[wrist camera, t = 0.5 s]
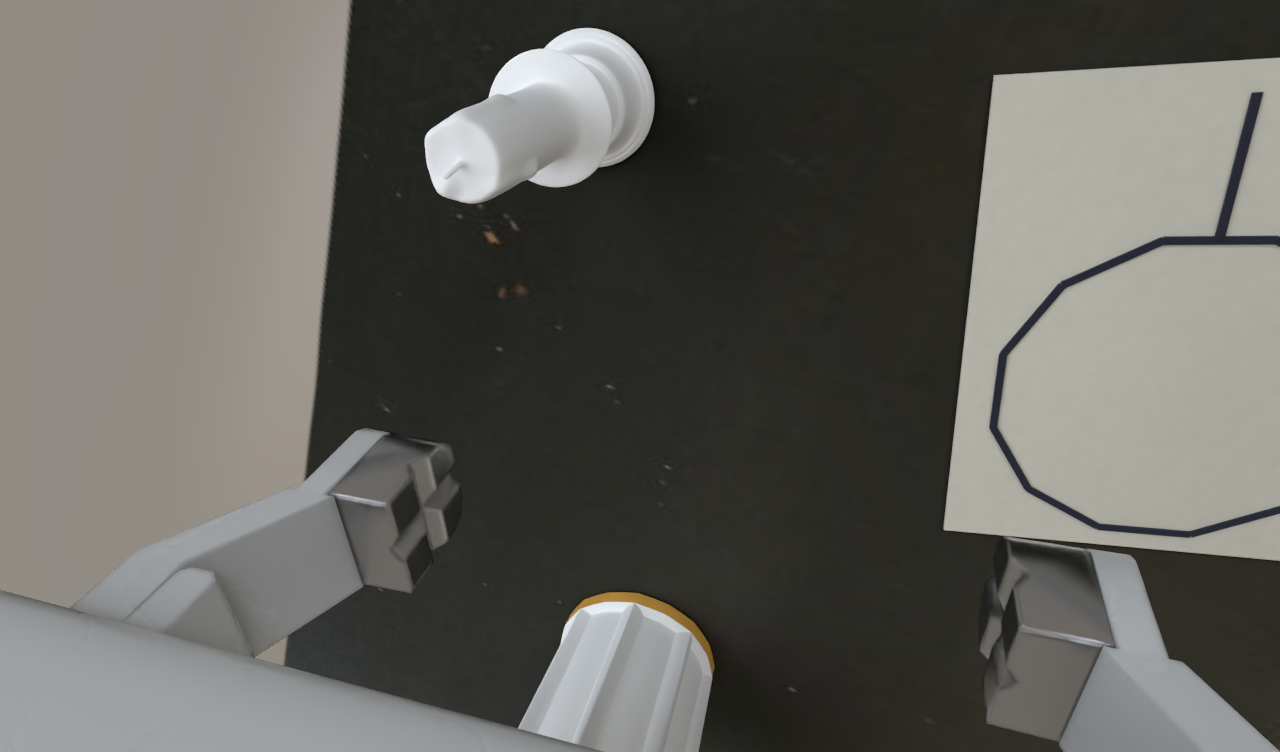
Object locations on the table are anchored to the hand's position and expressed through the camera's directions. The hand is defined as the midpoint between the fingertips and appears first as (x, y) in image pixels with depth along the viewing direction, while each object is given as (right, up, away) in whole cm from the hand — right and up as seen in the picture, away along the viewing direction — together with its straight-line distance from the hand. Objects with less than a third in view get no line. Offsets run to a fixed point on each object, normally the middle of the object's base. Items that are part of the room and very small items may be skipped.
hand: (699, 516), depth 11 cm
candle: (-3, +13, +20) cm, 24 cm away
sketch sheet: (+20, +4, +18) cm, 27 cm away
